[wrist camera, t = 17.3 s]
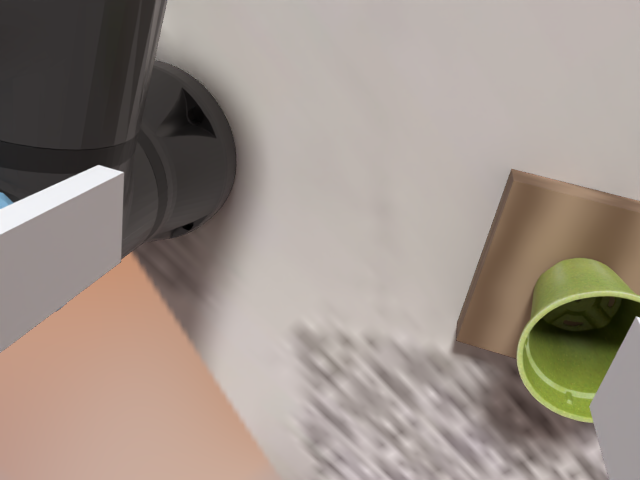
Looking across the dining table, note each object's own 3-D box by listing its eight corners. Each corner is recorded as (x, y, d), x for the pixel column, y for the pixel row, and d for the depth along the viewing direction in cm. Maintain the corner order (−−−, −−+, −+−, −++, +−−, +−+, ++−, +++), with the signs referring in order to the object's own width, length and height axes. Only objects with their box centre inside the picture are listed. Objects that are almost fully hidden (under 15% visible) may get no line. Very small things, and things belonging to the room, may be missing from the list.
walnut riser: (457, 321, 48) (456, 340, 46) (511, 168, 42) (513, 180, 40) (625, 371, 46) (634, 394, 44) (708, 218, 40) (724, 234, 38)
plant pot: (513, 232, 41) (521, 287, 33) (658, 236, 39) (703, 297, 31) (506, 342, 45) (512, 414, 37) (638, 352, 42) (674, 432, 35)
